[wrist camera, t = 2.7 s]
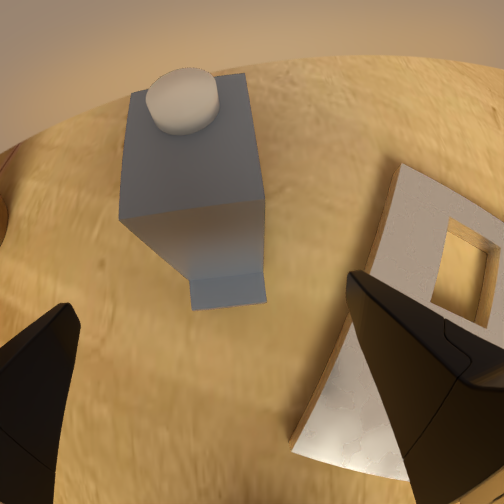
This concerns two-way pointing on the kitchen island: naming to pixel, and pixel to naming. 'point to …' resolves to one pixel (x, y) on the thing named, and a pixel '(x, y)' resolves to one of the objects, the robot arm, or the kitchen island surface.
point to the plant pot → (3, 219)
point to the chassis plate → (416, 287)
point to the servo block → (197, 184)
